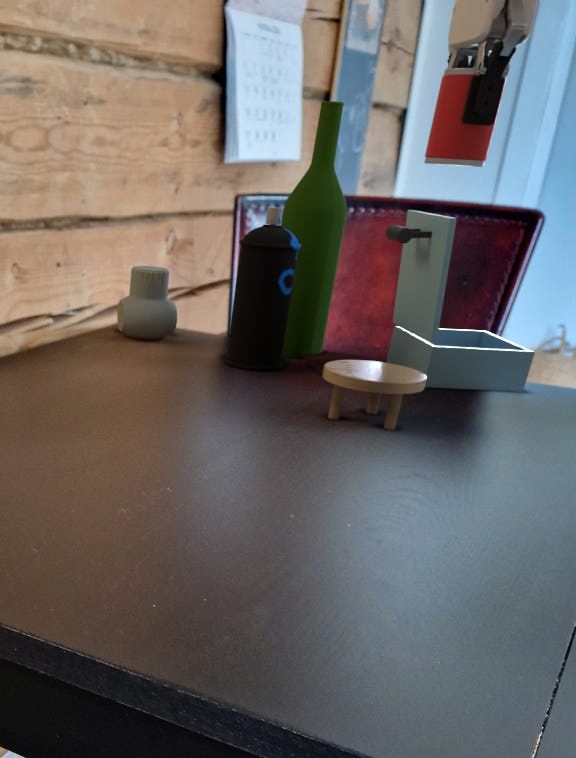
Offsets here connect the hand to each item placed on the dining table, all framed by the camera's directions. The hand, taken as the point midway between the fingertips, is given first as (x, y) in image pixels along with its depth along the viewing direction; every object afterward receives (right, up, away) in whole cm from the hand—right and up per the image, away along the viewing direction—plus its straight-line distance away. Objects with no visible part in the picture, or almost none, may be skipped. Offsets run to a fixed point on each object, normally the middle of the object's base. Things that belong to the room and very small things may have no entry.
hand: (463, 123), depth 89 cm
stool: (-8, -30, +8) cm, 32 cm away
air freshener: (-31, -6, +46) cm, 56 cm away
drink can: (0, -3, +2) cm, 4 cm away
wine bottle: (-8, -10, +42) cm, 44 cm away
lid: (+5, -6, +23) cm, 24 cm away
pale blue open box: (+11, -18, +30) cm, 37 cm away
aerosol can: (-16, -15, +33) cm, 39 cm away
